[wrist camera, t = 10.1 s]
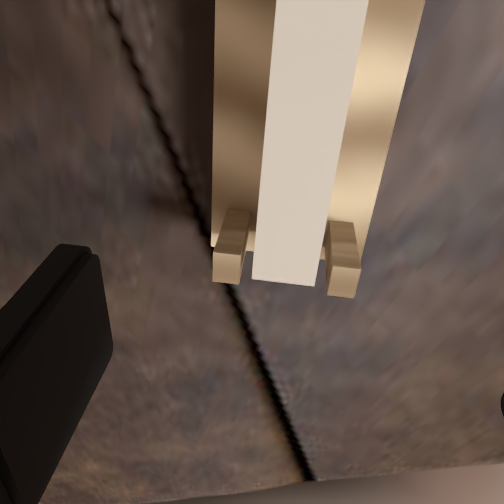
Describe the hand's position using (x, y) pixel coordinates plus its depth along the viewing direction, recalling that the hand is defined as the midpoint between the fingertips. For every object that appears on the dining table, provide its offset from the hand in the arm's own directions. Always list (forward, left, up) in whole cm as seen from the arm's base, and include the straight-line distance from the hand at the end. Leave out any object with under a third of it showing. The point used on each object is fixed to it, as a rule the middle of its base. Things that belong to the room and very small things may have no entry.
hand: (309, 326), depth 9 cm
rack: (+1, 0, -19) cm, 19 cm away
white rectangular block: (+1, 0, -18) cm, 18 cm away
